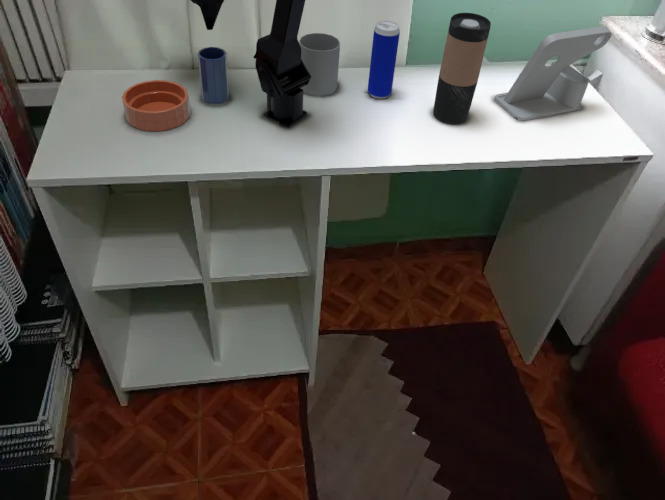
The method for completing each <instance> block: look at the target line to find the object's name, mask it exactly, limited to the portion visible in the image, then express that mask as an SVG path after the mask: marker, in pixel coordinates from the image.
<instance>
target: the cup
mask: <svg viewBox="0 0 665 500" xmlns="http://www.w3.org/2000/svg"><path fill="white" fill-rule="evenodd" d="M298 42H299V44H300V47H301V49H302V52H301V59H302V61H303V63H304V65H305V66H306V68H307V70H308V72H309V73H310V75H311V80H310V82H309V84H308V85H305V86H303V87H302V88H301V89H303V94H306V95H309V96H312V97H315V96H316V97H325V96H330V95H331V94H333V93H335V92H336V90H337V88H338V78H339V66H340V65H339V64H340V52H341V42H340V40H339V38H337V37H335V36H334V35H332V34H328V33H323V32H313V33H307V34H304V35H302V36H301V37H300V38H299V39H298Z"/></svg>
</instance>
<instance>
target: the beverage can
mask: <svg viewBox="0 0 665 500" xmlns="http://www.w3.org/2000/svg"><path fill="white" fill-rule="evenodd" d="M399 25H400V24H398V23H396V22H394V21H391V20H382V21H378V22H377V23H376V24H375V26H374V28H373V35H372V46H371V53H370V63H369V64H370V65H369V73H368V82H367V93H368V94H369V96H371V97H372V98H374V99H379V100H382V99H387V98H389V97H390V95H392V92H393V84H394V77H395V71H396V63H397V62H396V61H397V56H398V50H399V49H398V47H399V43H400V34H401V31H400V26H399Z"/></svg>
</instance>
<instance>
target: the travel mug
mask: <svg viewBox="0 0 665 500" xmlns="http://www.w3.org/2000/svg"><path fill="white" fill-rule="evenodd" d="M448 25H449V26H448V29H447V30H448V31H447V35H446V40H445V45H444V49H443V55H442V59H441V63H440V68H439V72H438V73H439V74H438V79H437V86H436V91H435V97H434V103H433V110H432V114H433V117H434V118H435V119H436V120H437V121H439V122H441V123H444V124H447V125H460V124H463V123H465V122H466V121H467V120H468V118H469V117H468V116H469V113H470V110H471V107H472V104H473V99H474V95H475V92H476V90H477V86H478V82H479V78H480V74H481V70H482V65H483V61H484V55H485V51H486V47H487V43H488V39H489V35H490V31H491V25H492V23H491V21H490V20H489V18H487V17H485V16H484V15H481V14H478V13H473V12H457V13H455V14H453V15H452V16H451V17H450V21H449V24H448Z"/></svg>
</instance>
